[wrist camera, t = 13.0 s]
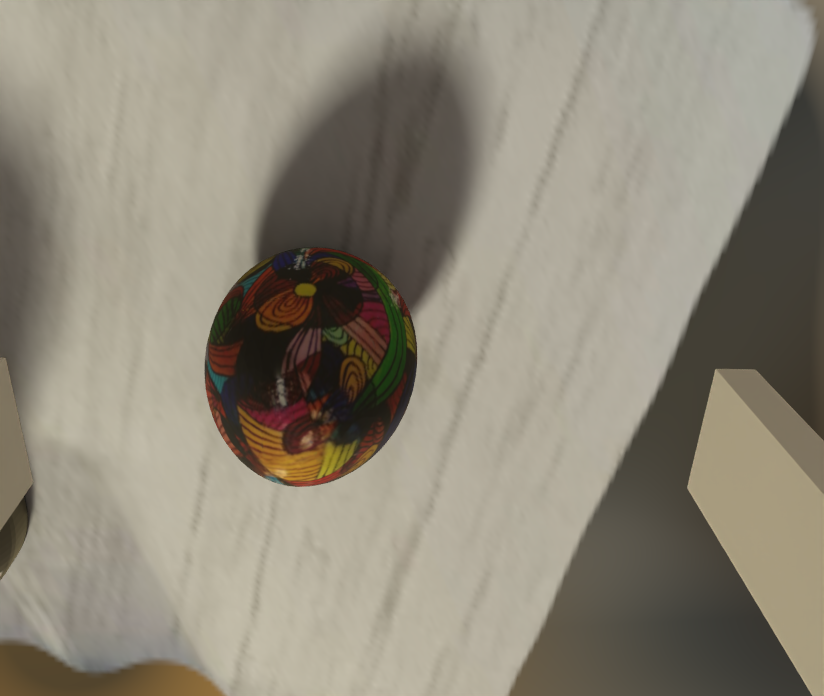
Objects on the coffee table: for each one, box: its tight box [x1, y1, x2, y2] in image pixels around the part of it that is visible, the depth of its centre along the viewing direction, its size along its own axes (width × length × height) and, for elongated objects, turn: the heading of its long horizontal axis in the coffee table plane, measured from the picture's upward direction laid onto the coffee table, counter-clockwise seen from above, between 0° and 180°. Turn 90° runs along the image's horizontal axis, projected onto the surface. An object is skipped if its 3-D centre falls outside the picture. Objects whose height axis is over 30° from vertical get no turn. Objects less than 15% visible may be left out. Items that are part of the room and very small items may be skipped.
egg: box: [205, 247, 417, 487], centre depth 38 cm, size 11×11×15 cm
